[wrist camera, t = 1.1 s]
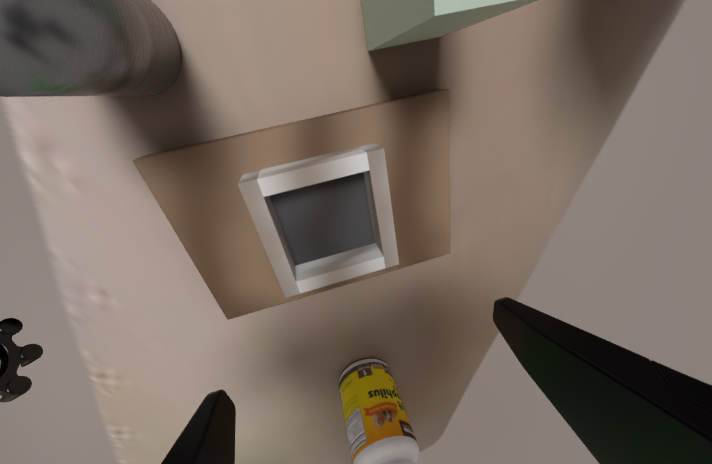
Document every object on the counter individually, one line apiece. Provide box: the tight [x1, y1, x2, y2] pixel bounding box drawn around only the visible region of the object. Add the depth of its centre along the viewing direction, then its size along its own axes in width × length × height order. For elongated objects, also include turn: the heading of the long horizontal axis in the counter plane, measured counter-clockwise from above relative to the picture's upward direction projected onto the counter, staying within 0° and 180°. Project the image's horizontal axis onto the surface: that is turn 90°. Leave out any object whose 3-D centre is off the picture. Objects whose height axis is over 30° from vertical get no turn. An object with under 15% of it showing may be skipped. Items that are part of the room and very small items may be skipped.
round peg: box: [0, 0, 182, 97], centre depth 9 cm, size 4×4×8 cm
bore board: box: [133, 89, 451, 319], centre depth 18 cm, size 18×12×3 cm, turn 101°
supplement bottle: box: [339, 359, 419, 464], centre depth 24 cm, size 6×6×10 cm
